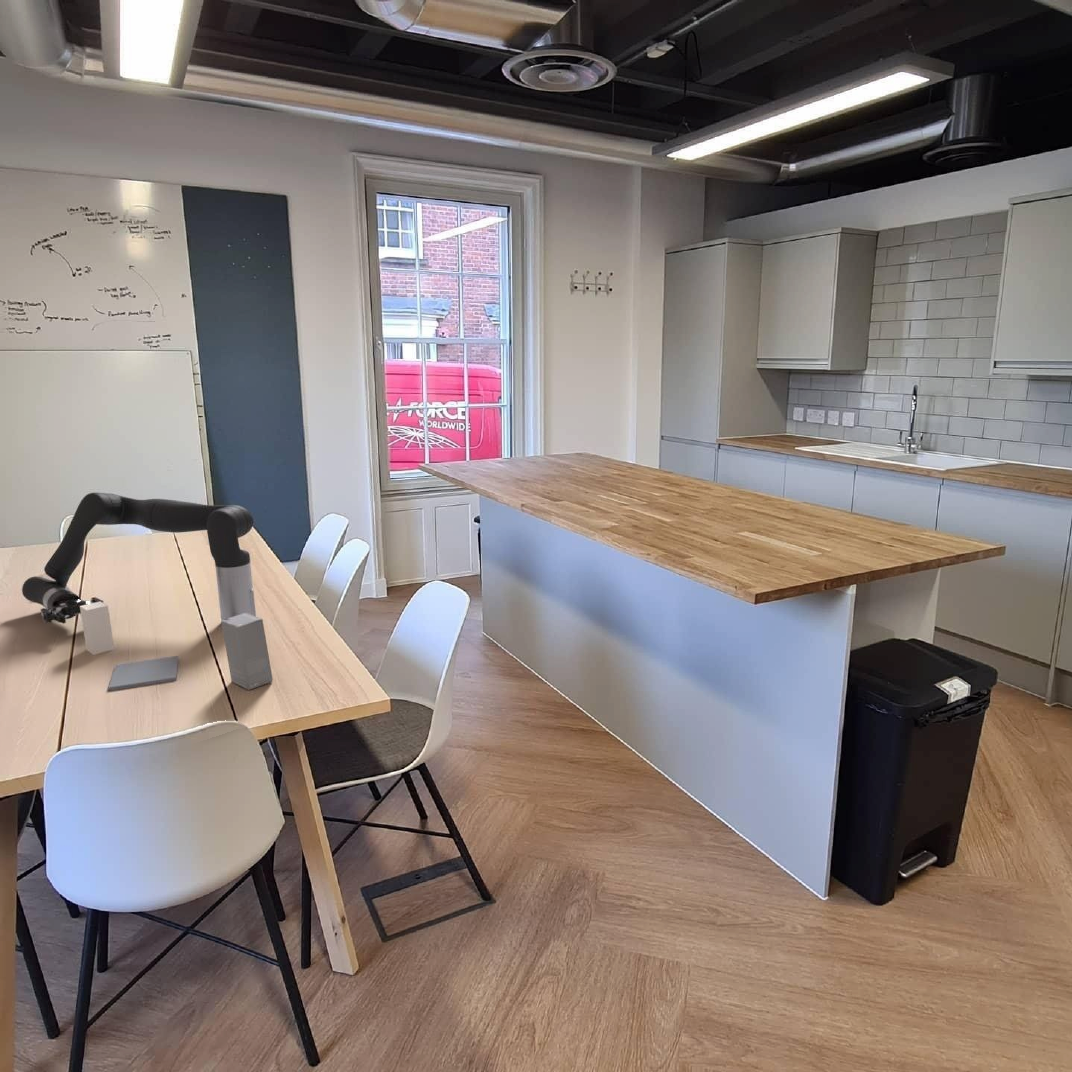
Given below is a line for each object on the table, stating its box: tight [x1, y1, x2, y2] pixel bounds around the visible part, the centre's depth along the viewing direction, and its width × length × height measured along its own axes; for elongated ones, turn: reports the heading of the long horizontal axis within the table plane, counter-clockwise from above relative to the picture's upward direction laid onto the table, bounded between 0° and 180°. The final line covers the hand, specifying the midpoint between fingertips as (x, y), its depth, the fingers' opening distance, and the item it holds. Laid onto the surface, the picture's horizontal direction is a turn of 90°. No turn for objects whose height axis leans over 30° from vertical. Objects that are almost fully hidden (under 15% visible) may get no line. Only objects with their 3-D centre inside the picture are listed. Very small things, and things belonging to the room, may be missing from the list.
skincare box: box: [220, 613, 274, 691], centre depth 176 cm, size 8×7×16 cm
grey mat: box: [108, 655, 180, 692], centre depth 183 cm, size 14×14×1 cm
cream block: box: [80, 601, 115, 656], centre depth 197 cm, size 5×5×12 cm
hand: (81, 615), depth 204 cm, fingers open, 8 cm apart
